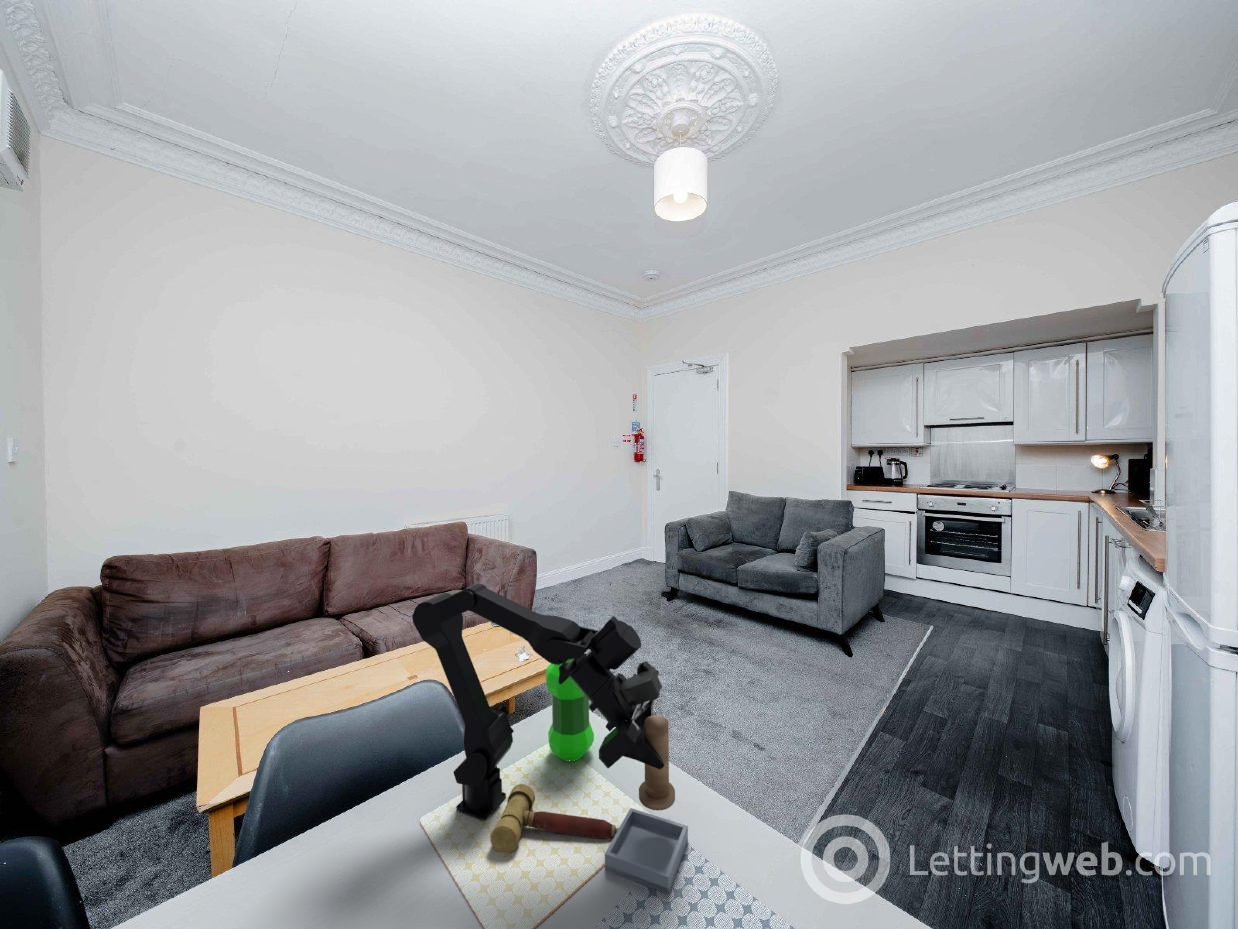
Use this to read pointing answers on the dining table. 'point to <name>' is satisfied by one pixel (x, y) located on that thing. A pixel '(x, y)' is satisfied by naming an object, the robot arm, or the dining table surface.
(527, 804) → the gavel
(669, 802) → the walnut handle
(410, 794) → the dining table surface
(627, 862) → the box
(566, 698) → the plastic bottle
